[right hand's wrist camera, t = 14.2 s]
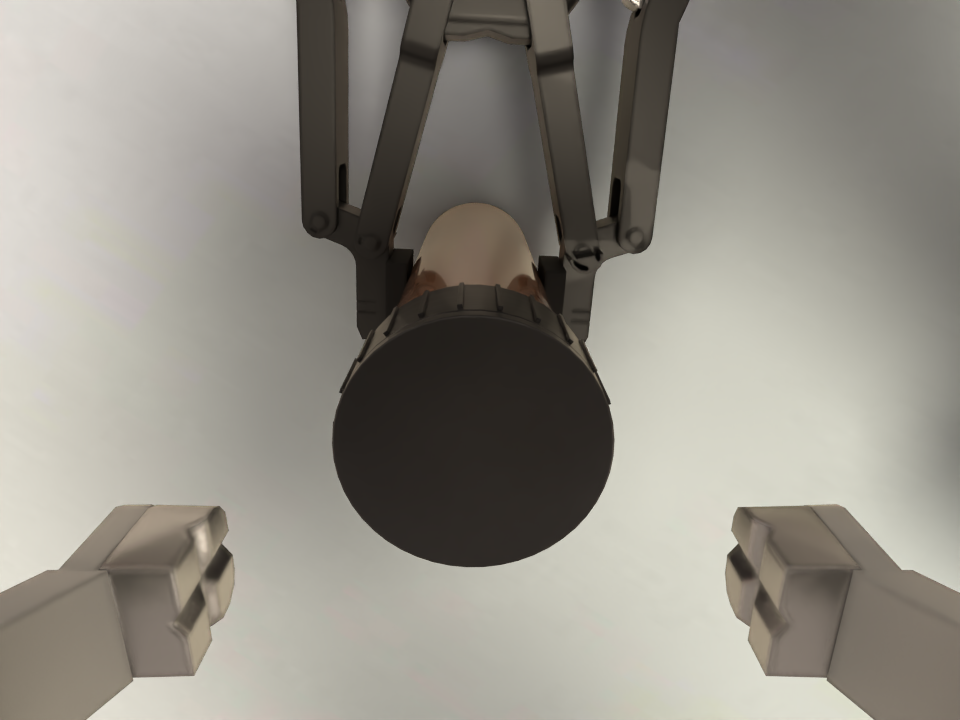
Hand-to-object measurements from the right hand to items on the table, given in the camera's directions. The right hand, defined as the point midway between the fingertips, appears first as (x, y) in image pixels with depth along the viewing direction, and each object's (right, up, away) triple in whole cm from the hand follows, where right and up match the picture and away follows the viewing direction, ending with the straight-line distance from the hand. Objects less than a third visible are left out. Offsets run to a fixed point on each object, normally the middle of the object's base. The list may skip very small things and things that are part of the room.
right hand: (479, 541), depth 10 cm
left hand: (0, +1, +17) cm, 17 cm away
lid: (0, +1, +3) cm, 4 cm away
